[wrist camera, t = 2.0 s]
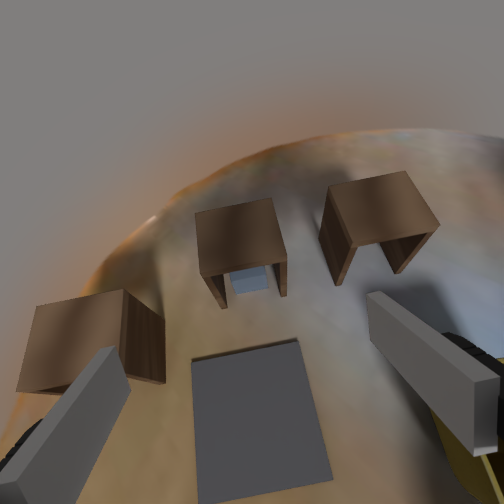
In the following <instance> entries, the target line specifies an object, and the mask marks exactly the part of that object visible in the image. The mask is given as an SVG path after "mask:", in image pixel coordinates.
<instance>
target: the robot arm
mask: <svg viewBox="0 0 504 504" xmlns="http://www.w3.org/2000/svg"><path fill="white" fill-rule="evenodd" d="M366 300H367V311H368V321H369V332H370V340H371V341H372V343H373V344H374V345H375V346H376V347H377V348H378V349H379V351H380V352H381V353H382V354H383V355H384V356H385V357H386V358H387V360H388V361H389V362H390V363H391V364H392V365H393V366H394V367H395V369H396V370H397V371H398V372H399V373H400V374H401V375H402V376H403V378H404V379H405V380H406V381H407V382H408V383H409V384H410V385H411V387H412V388H413V389H414V390H415V391H416V392H417V393H418V395H419V396H420V397H421V398H422V399H423V400H424V401H425V402H426V404H427V405H428V406H429V407H430V408H431V409H432V410H433V411H434V413H435V414H436V415H437V416H438V417H439V418H440V419H441V420H442V422H443V423H444V424H445V425H446V426H447V427H448V428H449V430H450V431H451V432H452V433H453V434H454V435H455V436H456V437H457V439H458V440H459V441H460V442H461V443H462V444H463V445H464V446H465V448H466V449H467V450H468V451H469V452H470V453H471V454H472V455H473V457H475V456H479V455H484V454H488V453H493V452H497V448H498V436H499V437H500V438H501V439H502V440H503V441H504V364H503V363H501V362H500V361H498V360H497V359H495V358H494V357H492V356H491V355H489V354H486V352H485V351H483V350H482V349H480V348H479V347H476V345H474V344H473V343H471V342H470V341H468V340H467V339H465V338H463V337H461V336H458V335H455V334H453V333H450V332H447V333H442V334H440V333H439V332H437V331H436V330H434V329H433V328H432V327H430V326H429V325H427V324H426V323H425V322H423V321H422V320H420V319H419V318H418V317H416V316H415V315H413V314H412V313H411V312H409V311H408V310H406V309H405V308H404V307H402V306H401V305H400V304H398V303H397V302H395V301H394V300H393V299H391V298H390V297H388V296H387V295H386V294H384V293H383V292H381V291H376V292H371V293H367V294H366ZM130 392H131V389H130V386H129V383H128V380H127V377H126V375H125V372H124V369H123V366H122V363H121V360H120V358H119V355H118V352H117V349H116V346H110V347H105V348H100V350H99V351H98V352H97V353H96V354H95V356H94V357H93V358H92V359H91V361H90V362H89V363H88V364H87V366H86V367H85V368H84V369H83V371H82V372H81V373H80V374H79V375H78V377H77V378H76V379H75V380H74V382H73V383H72V384H71V385H70V387H69V388H68V389H67V390H66V392H65V393H64V394H63V395H62V397H61V398H60V399H59V400H58V401H57V403H56V404H55V405H54V406H53V408H52V409H51V410H50V411H49V413H48V414H47V415H46V416H45V418H43V419H40V420H39V421H38V422H36V423H35V424H34V425H33V426H32V427H31V428H29V429H28V430H27V431H26V432H25V433H24V434H23V435H22V437H21V438H20V439H19V440H18V441H17V443H16V444H15V447H12V449H11V450H10V451H9V452H8V453H7V455H6V457H5V458H4V459H2V460H1V462H0V504H75V503H76V501H77V499H78V497H79V495H80V493H81V491H82V489H83V487H84V485H85V483H86V481H87V479H88V477H89V475H90V473H91V471H92V469H93V467H94V465H95V463H96V461H97V458H98V456H99V454H100V452H101V450H102V448H103V446H104V444H105V442H106V440H107V438H108V436H109V434H110V432H111V430H112V428H113V426H114V424H115V422H116V420H117V418H118V416H119V414H120V412H121V410H122V408H123V406H124V404H125V402H126V400H127V398H128V396H129V394H130Z"/></svg>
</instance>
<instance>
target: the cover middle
mask: <svg viewBox="0 0 504 504" xmlns="http://www.w3.org/2000/svg"><path fill="white" fill-rule="evenodd" d="M195 220H196V232H197V244H198V257H199V269H200V274H201V276H202V278H203V279H204V281H205V282H206V284H207V286H208V287H209V289H210V291H211V292H212V294H213V296H214V297H215V299H216V300H217V302H218V304H219V305H220V307H221V309H225V308H227V300H226V293H225V285H224V277H223V274H225V273H230V272H235V271H240V270H245V269H250V268H254V267H259V266H264V265H269V264H273V266H274V270H275V274H276V278H277V282H278V287H279V291H280V295H281V297H285V296H287V253H286V249H285V246H284V242H283V239H282V235H281V231H280V228H279V224H278V220H277V217H276V213H275V209H274V206H273V202H272V199H271V198H267V199H262V200H257V201H252V202H248V203H243V204H238V205H233V206H228V207H223V208H218V209H213V210H208V211H203V212H198V213H195Z"/></svg>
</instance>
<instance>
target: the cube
mask: <svg viewBox="0 0 504 504" xmlns="http://www.w3.org/2000/svg"><path fill="white" fill-rule="evenodd" d="M230 279H231V283H232V285H233V288H234V290H235V293H236V294H241V293H246V292H251V291H256V290H261V289H266V288H268V284H267V278H266V272H265V267H264V266H259V267H254V268H250V269H245V270H240V271H235V272H230Z"/></svg>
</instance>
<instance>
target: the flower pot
mask: <svg viewBox="0 0 504 504" xmlns="http://www.w3.org/2000/svg"><path fill="white" fill-rule="evenodd" d="M497 360H498V361H500V362H501V363H503V364H504V358H497ZM429 409H430V411H431V414H432V417H433V420H434V422H435V425H436V428H437V430H438V433H439V436H440V439H441V442H442V444H443V447H444V450H445V453H446V455H447V458H448V461H449V464H450V466H451V468H452V470H453V473H454V474H455V476H456V478H457V479H458V481H459V482H460V483H461V485H462V486H463V487H464V488H465V489H466V490H467V491H468V492H469V493H470V494H471V495H473V496H474V497H475V498H477V499H478V500H479V501H481V502H482V503H483V504H504V441H503V440H502V439H501V438H500V437H499V436H498V448H497V452H493V453H488V454H484V455H479V456H475V457H473V455H472V454H471V453H470V452H469V451H468V450H467V449H466V448H465V446H464V445H463V444H462V443H461V442H460V441H459V440H458V439H457V437H456V436H455V435H454V434H453V433H452V432H451V431H450V430H449V428H448V427H447V426H446V425H445V424H444V423H443V422H442V420H441V419H440V418H439V417H438V416H437V415H436V414H435V413H434V411H433V410H432V409H431V408H430V407H429Z"/></svg>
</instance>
